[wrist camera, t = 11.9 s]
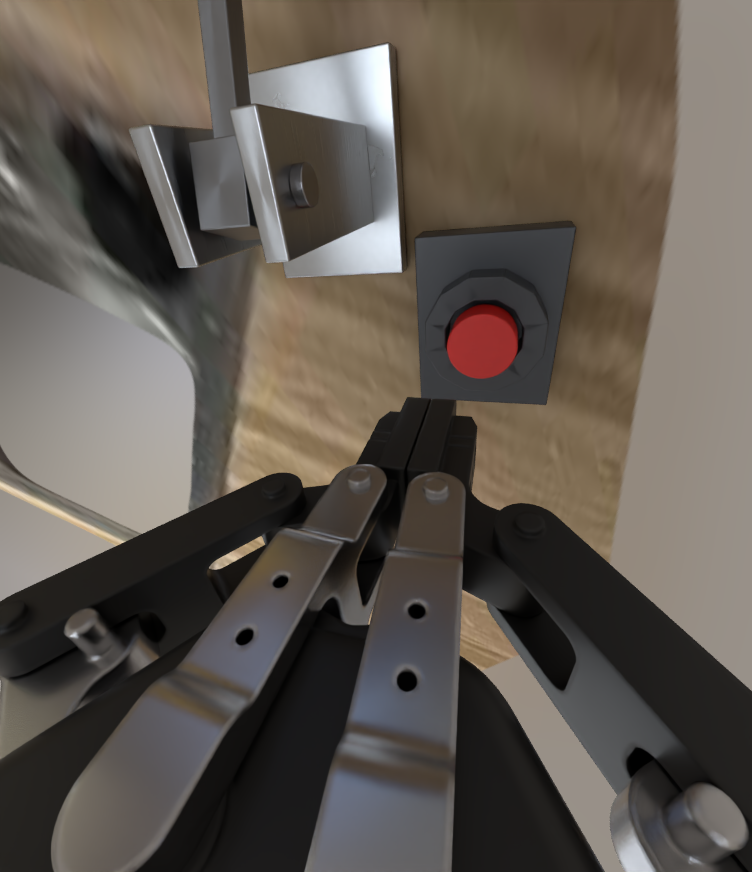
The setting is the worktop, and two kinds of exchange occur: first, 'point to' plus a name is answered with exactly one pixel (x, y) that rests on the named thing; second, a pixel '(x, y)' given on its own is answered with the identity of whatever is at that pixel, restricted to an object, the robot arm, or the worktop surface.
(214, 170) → the press lever
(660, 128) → the worktop surface
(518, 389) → the button block
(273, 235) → the lever bracket
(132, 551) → the robot arm
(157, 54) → the worktop surface
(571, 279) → the worktop surface
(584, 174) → the worktop surface
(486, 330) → the button
